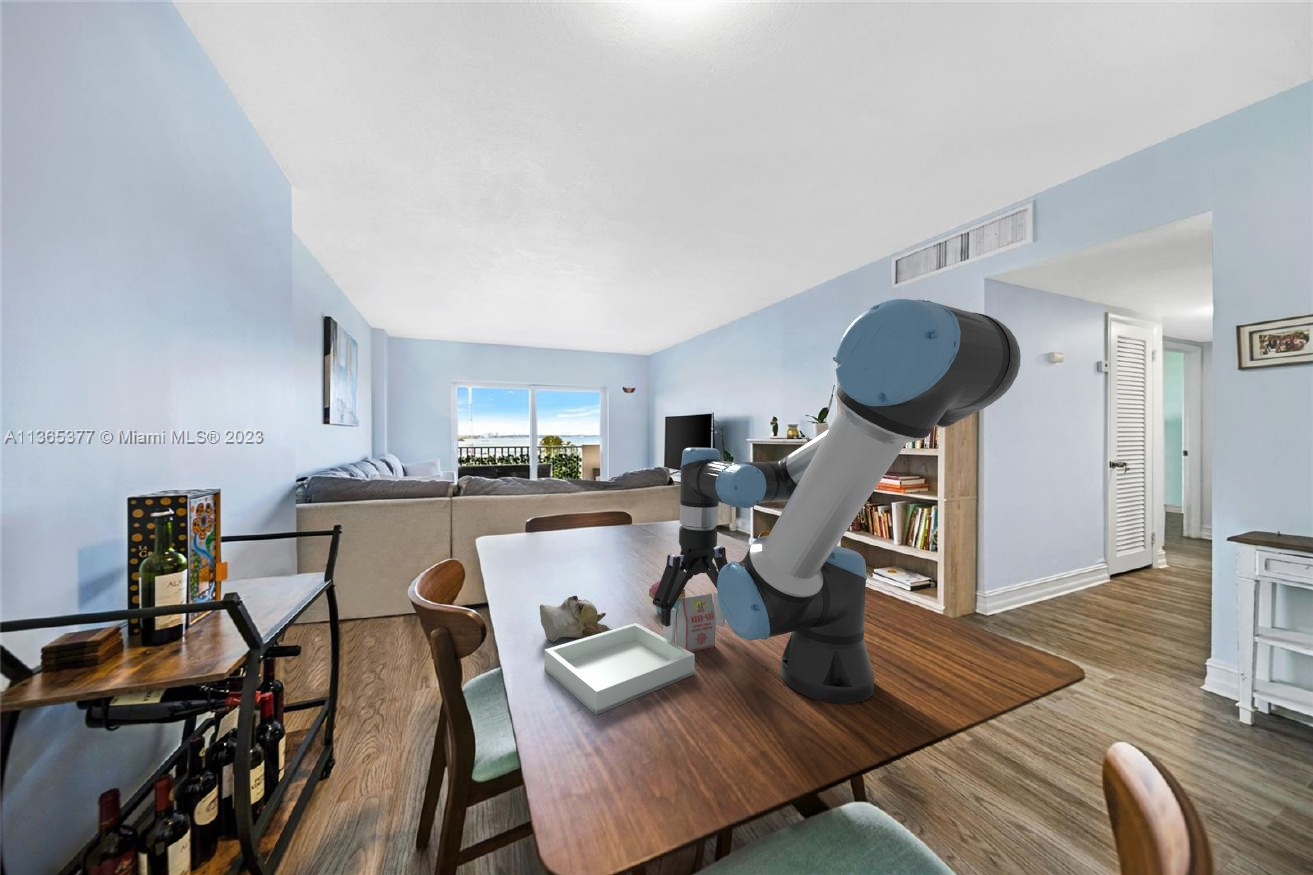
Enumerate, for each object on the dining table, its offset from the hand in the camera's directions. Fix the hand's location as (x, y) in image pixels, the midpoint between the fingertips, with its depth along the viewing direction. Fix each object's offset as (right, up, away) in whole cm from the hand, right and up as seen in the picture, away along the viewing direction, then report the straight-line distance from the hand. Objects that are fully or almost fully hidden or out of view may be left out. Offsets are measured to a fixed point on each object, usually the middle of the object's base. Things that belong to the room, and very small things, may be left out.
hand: (694, 632), depth 96 cm
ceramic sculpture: (-24, -2, +3) cm, 24 cm away
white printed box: (0, -3, 0) cm, 3 cm away
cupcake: (-5, -2, +17) cm, 18 cm away
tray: (-14, -2, -11) cm, 18 cm away
